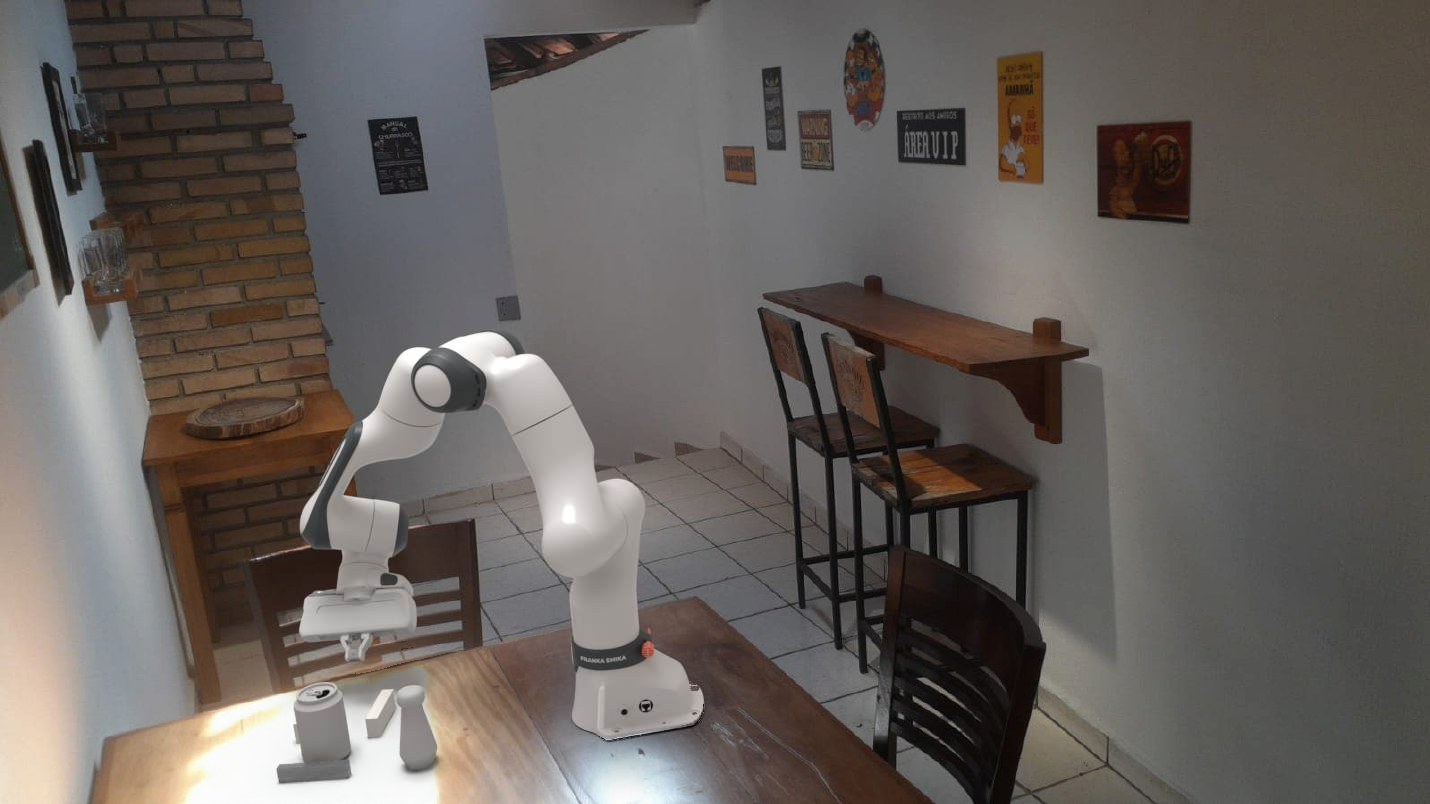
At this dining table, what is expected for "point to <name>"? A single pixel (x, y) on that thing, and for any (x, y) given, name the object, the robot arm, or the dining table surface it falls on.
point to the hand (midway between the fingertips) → (354, 660)
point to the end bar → (313, 771)
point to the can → (322, 723)
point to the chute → (374, 715)
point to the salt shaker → (415, 729)
